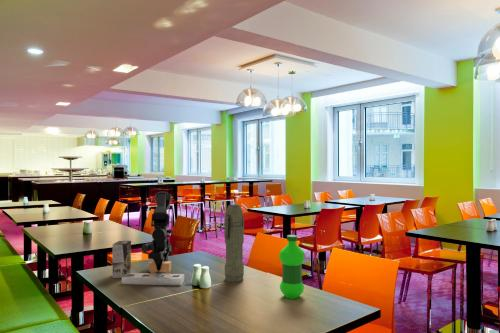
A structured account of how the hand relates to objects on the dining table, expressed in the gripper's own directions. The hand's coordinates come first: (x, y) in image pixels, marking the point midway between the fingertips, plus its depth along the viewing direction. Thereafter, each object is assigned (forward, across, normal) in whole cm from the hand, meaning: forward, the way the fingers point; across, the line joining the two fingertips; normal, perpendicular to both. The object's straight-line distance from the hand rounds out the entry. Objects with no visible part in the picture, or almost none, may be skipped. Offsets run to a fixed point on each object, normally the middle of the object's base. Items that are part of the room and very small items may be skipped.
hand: (160, 269), depth 192 cm
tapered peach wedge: (+3, 0, 0) cm, 3 cm away
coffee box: (+3, +1, -18) cm, 19 cm away
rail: (+3, +10, 0) cm, 11 cm away
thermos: (+3, +4, +36) cm, 37 cm away
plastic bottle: (+3, +25, +62) cm, 67 cm away
